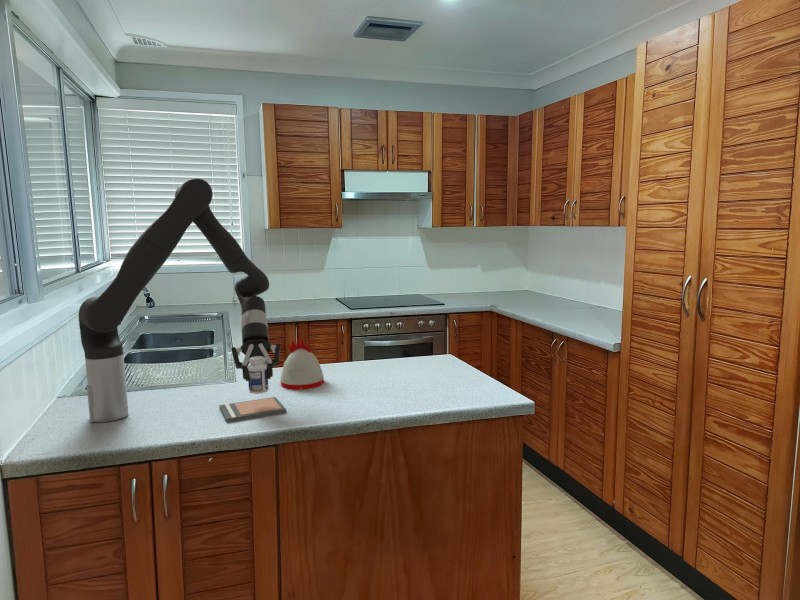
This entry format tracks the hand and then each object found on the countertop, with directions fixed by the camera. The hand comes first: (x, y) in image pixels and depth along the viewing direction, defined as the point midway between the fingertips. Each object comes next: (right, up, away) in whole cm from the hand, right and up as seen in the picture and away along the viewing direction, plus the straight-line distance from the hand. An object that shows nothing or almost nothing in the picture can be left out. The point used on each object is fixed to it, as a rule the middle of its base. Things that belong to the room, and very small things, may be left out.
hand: (258, 378), depth 154 cm
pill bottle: (0, -4, +2) cm, 5 cm away
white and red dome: (+7, -6, +28) cm, 30 cm away
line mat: (-2, -9, +2) cm, 10 cm away
